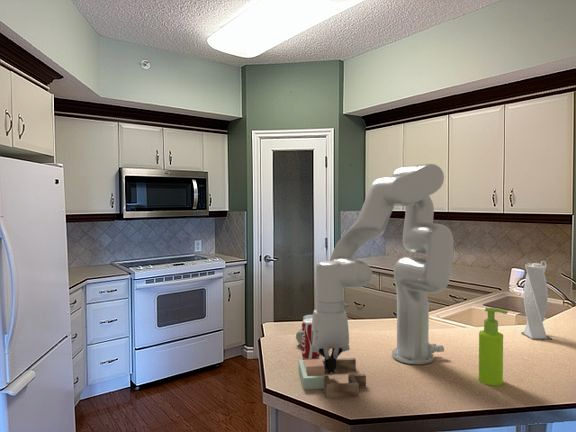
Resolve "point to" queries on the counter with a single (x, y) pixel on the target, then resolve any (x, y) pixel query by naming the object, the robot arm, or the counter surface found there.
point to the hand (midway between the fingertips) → (330, 371)
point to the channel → (345, 388)
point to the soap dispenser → (491, 350)
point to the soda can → (307, 340)
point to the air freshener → (299, 333)
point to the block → (314, 367)
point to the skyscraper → (535, 301)
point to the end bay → (310, 378)
